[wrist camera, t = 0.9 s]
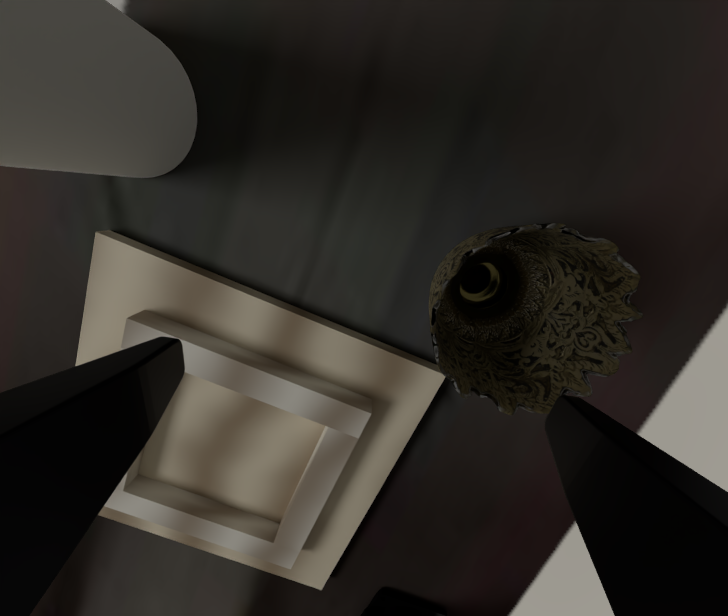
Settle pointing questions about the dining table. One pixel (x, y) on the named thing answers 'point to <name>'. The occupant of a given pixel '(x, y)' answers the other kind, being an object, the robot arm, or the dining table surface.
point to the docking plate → (252, 413)
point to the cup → (531, 315)
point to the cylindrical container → (90, 92)
